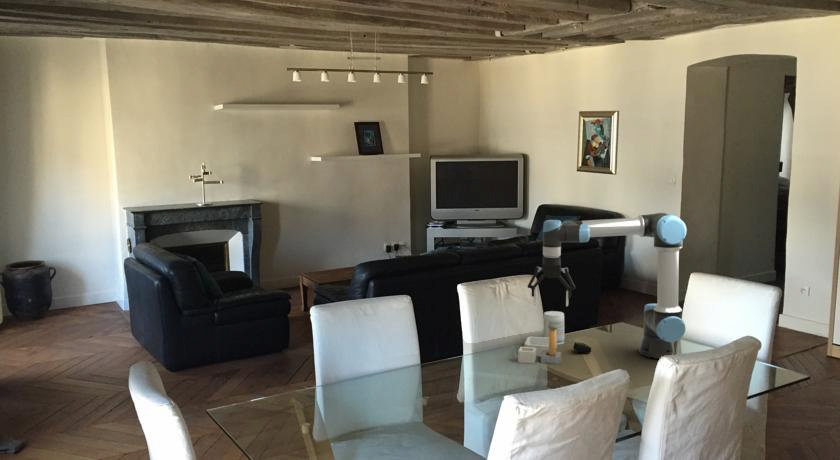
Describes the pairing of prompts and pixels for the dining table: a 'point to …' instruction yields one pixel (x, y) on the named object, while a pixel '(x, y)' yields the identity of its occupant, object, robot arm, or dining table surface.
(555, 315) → the supplement tub
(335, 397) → the dining table surface
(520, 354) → the socket block
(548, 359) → the pin mount
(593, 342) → the dining table surface
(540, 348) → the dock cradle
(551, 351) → the lock pin
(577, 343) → the tape measure
